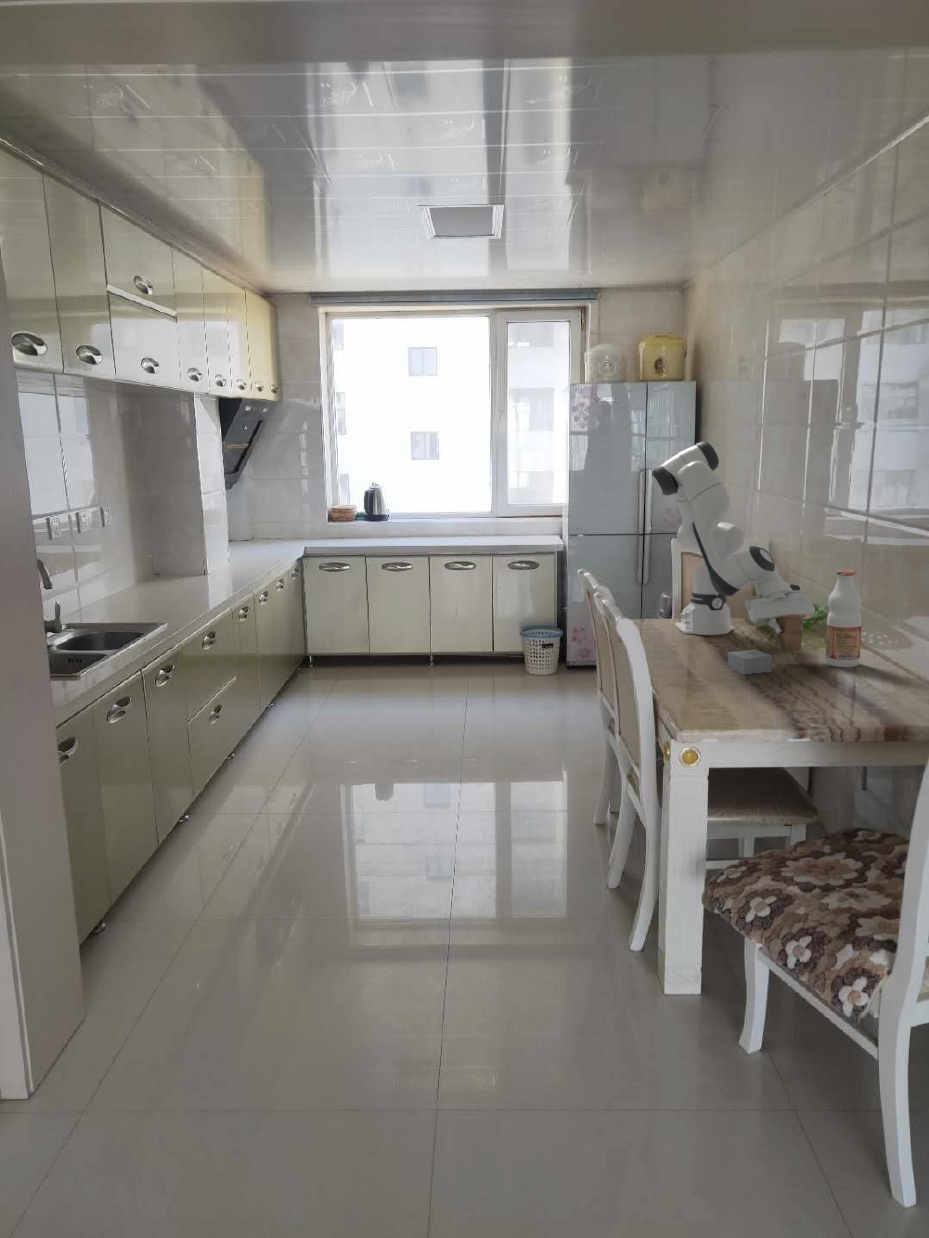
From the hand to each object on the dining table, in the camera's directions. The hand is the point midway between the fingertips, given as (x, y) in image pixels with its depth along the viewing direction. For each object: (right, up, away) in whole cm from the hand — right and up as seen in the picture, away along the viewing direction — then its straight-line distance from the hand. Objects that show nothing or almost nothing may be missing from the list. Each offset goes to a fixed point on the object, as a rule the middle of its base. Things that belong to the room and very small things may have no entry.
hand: (790, 631), depth 270 cm
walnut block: (0, -5, +2) cm, 5 cm away
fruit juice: (+15, -10, -2) cm, 18 cm away
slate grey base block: (-13, -11, -3) cm, 18 cm away
